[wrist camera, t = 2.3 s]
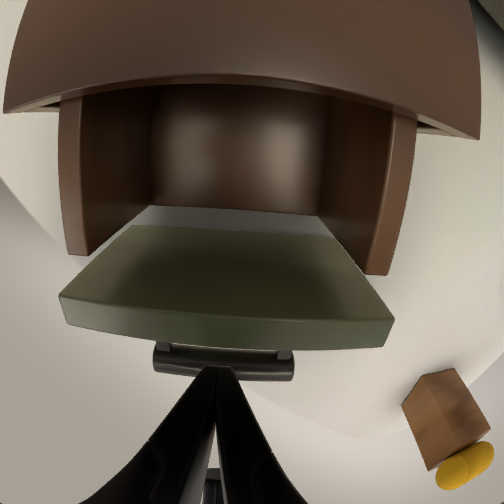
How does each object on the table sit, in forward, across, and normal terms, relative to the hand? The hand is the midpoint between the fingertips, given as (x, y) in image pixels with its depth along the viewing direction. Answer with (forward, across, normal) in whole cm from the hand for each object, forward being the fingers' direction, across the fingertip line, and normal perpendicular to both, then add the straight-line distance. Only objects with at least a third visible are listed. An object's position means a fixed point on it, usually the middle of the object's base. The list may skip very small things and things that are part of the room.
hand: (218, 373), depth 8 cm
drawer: (+7, 0, -5) cm, 8 cm away
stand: (+8, -21, +13) cm, 26 cm away
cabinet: (+8, 0, -14) cm, 16 cm away
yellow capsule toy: (-1, -21, +13) cm, 25 cm away
